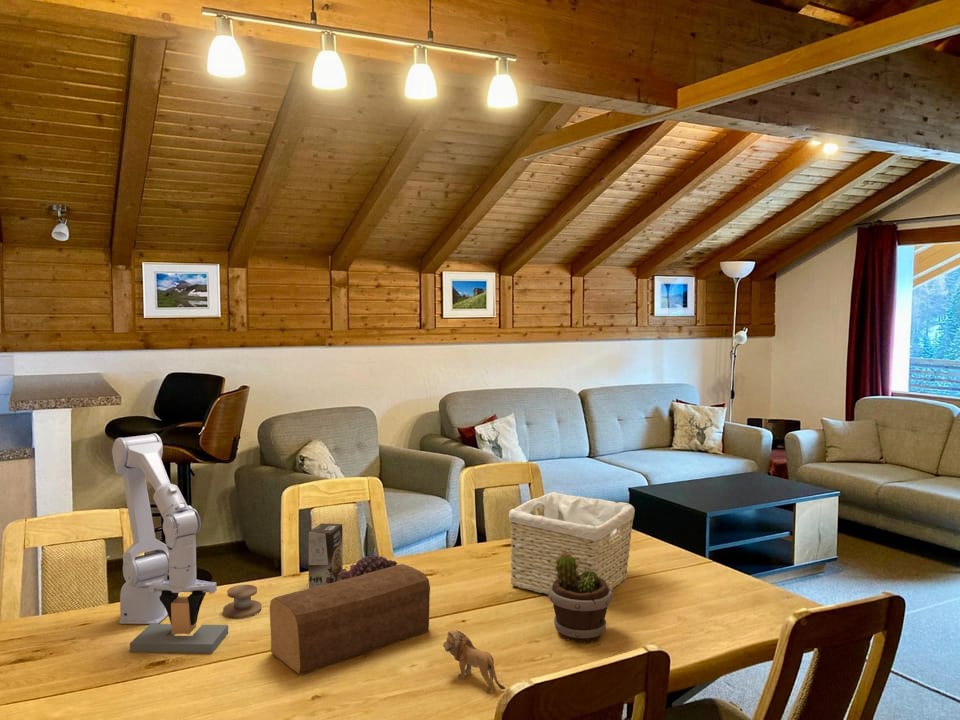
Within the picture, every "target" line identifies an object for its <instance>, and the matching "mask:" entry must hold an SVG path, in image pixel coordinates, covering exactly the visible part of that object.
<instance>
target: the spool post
mask: <svg viewBox="0 0 960 720" xmlns="http://www.w3.org/2000/svg"><path fill="white" fill-rule="evenodd" d="M257 593H258V588H257V586H255V585H252V584H240V585H235V586H232V587H229V588H228V589H227V595H226V596H227V597H228V598H231V599H233V601H231V602H229V603H227V604H226V605H224V606H223V608H222V610H223V612H222V613H224V614H223V616H225V617H226V616H228V617H227V618H230V617H232V618H231V619H245V617H246V618H250V617H252V616H255V614H256V615H257V613H258V614H259V613H260V612H261V611H262V603H261V602H260V601H257V600H254V599H252V596H255V595H256V594H257Z"/></svg>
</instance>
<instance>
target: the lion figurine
mask: <svg viewBox="0 0 960 720" xmlns="http://www.w3.org/2000/svg"><path fill="white" fill-rule="evenodd" d="M446 636H447V637H446V641H445V642H443V644H442V647H443V648H444V650H445V652H446V653H447V652H448V653H449V654H450V655H452V656H453V657H454V660H455V661H457V662H458V666H459V670H460V673H459V674H458V675H457V678H458V680H461V679H464V678H465V677H466V674H471V672H472V667H473V668H477V669H478V668H479V671H480V675H481V676H482V678H483V680H484V681H485V682H486V685H487V686H488V687H486V689H485V690H486V692H487V693H492V692H493V690H494V686H493V682H495V684H496V685H497V687H498V688H499V689H500V690H504V691H505V689H506V687H505V686H504V685H502V684H500V682H499V680H498V677H497V674H496V670H495V662H494V661H495V659H494V657H493V655H492V654H491V653H490V652H488V651H485V650H481V649H479V648H476V646H474V645H473V642H472V640H471V639H470V638H469V637H468V636H467V635H466V634H464V633H463V632H461V631H459V630H457V629H452V630H449V631H448V632H447V635H446Z"/></svg>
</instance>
